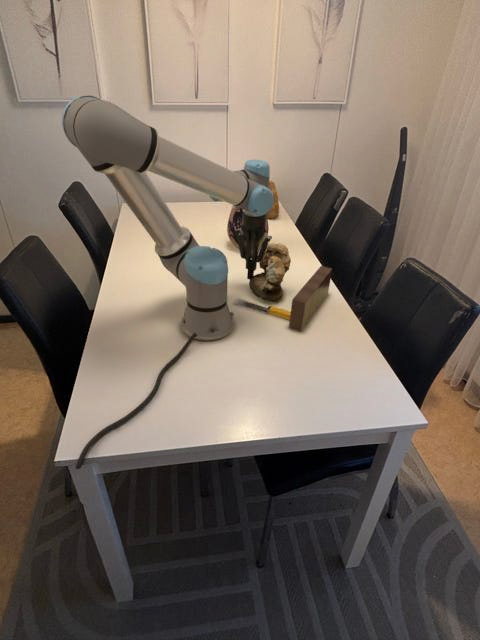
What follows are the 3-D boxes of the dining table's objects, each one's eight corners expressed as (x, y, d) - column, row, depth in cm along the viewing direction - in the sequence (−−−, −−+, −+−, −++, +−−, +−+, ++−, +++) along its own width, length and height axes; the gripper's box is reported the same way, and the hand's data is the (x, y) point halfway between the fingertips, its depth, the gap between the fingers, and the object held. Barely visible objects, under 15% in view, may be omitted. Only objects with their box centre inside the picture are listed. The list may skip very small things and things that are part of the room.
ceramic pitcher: (220, 250, 164) (220, 190, 150) (238, 233, 181) (239, 177, 167) (260, 257, 159) (264, 196, 146) (274, 239, 176) (279, 182, 162)
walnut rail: (301, 331, 117) (305, 303, 111) (288, 327, 118) (292, 299, 113) (327, 294, 136) (332, 268, 130) (316, 291, 137) (321, 265, 132)
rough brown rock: (245, 207, 216) (243, 179, 207) (274, 204, 216) (274, 177, 208) (247, 223, 197) (246, 193, 189) (280, 220, 198) (280, 191, 189)
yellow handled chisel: (295, 317, 123) (295, 312, 122) (291, 321, 121) (292, 316, 120) (239, 300, 131) (239, 295, 130) (235, 304, 129) (235, 299, 128)
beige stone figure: (244, 274, 141) (256, 230, 132) (274, 278, 144) (288, 235, 135) (253, 300, 127) (268, 253, 118) (287, 304, 130) (303, 258, 121)
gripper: (277, 212, 124) (271, 277, 138) (242, 205, 128) (239, 268, 142) (267, 220, 118) (262, 287, 132) (231, 212, 123) (229, 277, 137)
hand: (250, 277), depth 137 cm, fingers closed
